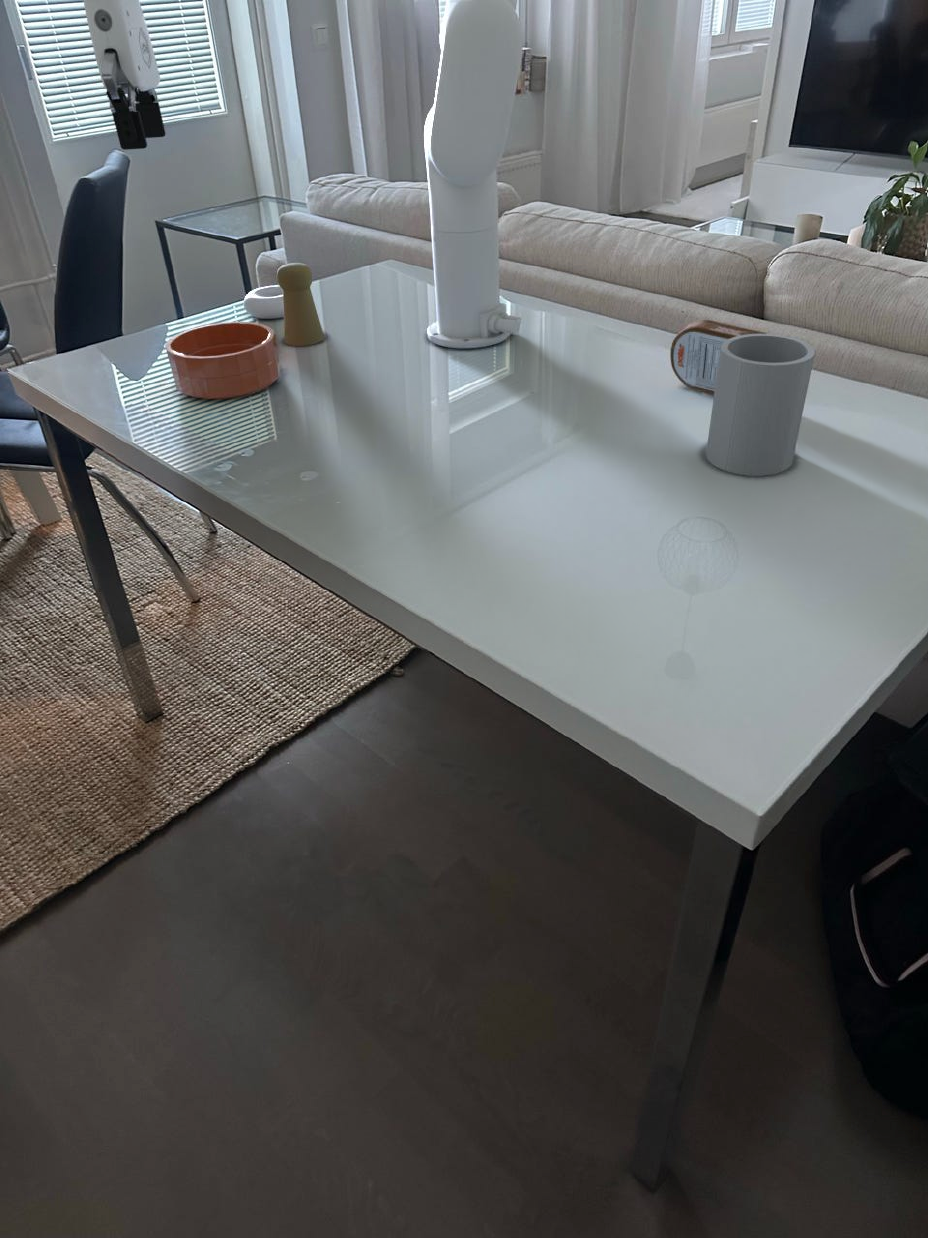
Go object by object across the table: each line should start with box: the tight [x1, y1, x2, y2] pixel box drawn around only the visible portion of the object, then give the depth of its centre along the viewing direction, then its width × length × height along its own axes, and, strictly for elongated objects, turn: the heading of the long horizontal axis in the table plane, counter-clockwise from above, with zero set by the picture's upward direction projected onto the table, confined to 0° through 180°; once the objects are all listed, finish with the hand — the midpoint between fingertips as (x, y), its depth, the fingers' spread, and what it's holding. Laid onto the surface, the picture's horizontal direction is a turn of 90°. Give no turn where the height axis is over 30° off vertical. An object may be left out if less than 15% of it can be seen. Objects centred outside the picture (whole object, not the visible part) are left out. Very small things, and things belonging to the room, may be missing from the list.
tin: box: [669, 319, 768, 395], centre depth 105 cm, size 15×3×8 cm, turn 47°
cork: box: [276, 262, 325, 347], centre depth 128 cm, size 6×6×11 cm
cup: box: [705, 333, 816, 477], centre depth 90 cm, size 9×9×12 cm
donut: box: [243, 285, 284, 320], centre depth 142 cm, size 10×4×10 cm
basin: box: [165, 321, 282, 400], centre depth 117 cm, size 14×14×6 cm
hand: (144, 142), depth 111 cm, fingers open, 9 cm apart
